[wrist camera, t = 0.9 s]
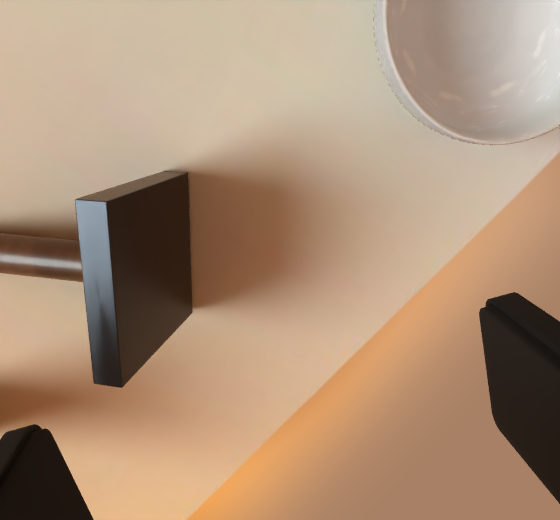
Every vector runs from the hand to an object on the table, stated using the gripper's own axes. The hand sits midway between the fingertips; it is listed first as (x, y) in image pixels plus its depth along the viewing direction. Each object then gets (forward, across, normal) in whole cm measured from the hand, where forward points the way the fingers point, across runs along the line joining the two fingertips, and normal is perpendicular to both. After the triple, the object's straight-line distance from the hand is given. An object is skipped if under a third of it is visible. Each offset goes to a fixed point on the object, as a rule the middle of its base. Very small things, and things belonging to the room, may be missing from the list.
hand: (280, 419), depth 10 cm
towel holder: (+31, +14, +1) cm, 34 cm away
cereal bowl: (+32, -20, -7) cm, 38 cm away
